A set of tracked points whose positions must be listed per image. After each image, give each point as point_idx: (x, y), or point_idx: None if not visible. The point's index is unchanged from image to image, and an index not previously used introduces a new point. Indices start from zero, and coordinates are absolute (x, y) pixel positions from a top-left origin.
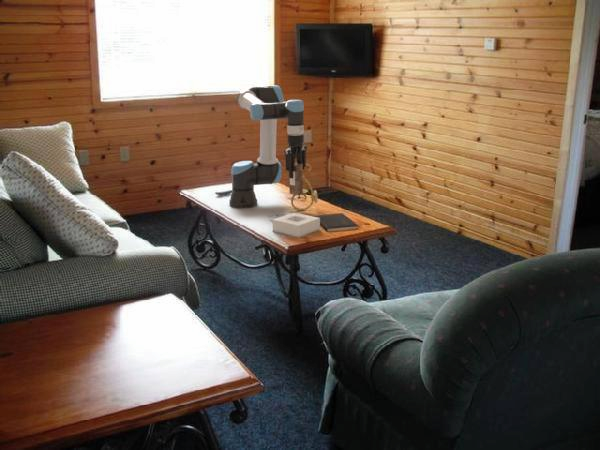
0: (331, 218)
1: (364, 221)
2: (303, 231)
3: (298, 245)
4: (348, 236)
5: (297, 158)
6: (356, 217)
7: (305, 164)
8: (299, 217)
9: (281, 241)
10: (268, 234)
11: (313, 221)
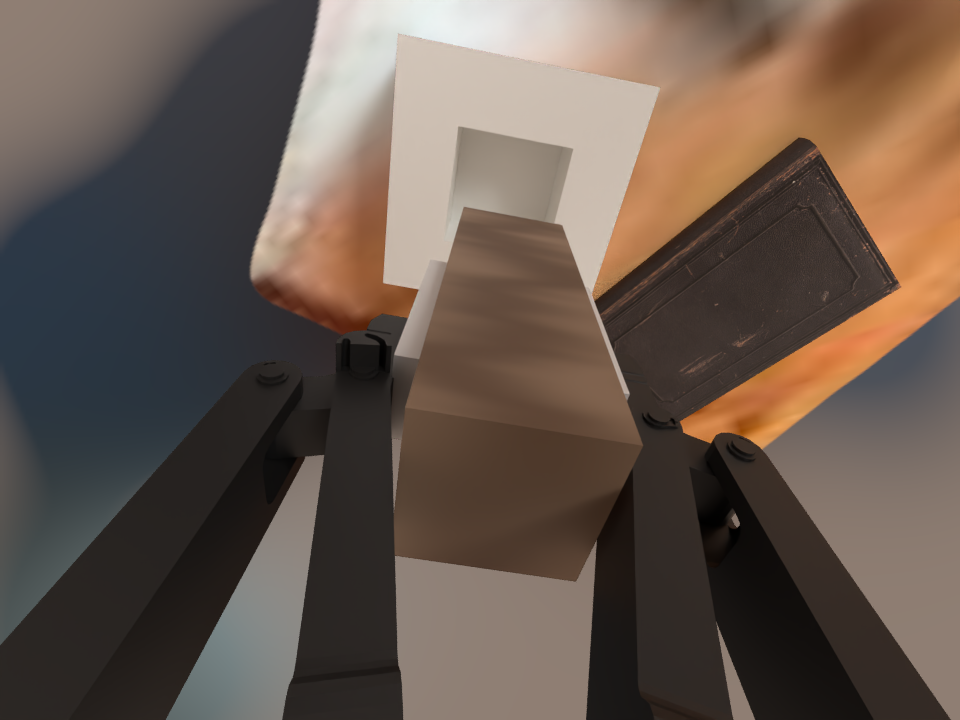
0: (762, 280)
1: (791, 404)
2: None
3: (305, 307)
4: None
5: (622, 619)
6: (867, 350)
7: (721, 541)
8: (561, 189)
9: (298, 203)
10: (352, 46)
11: None
